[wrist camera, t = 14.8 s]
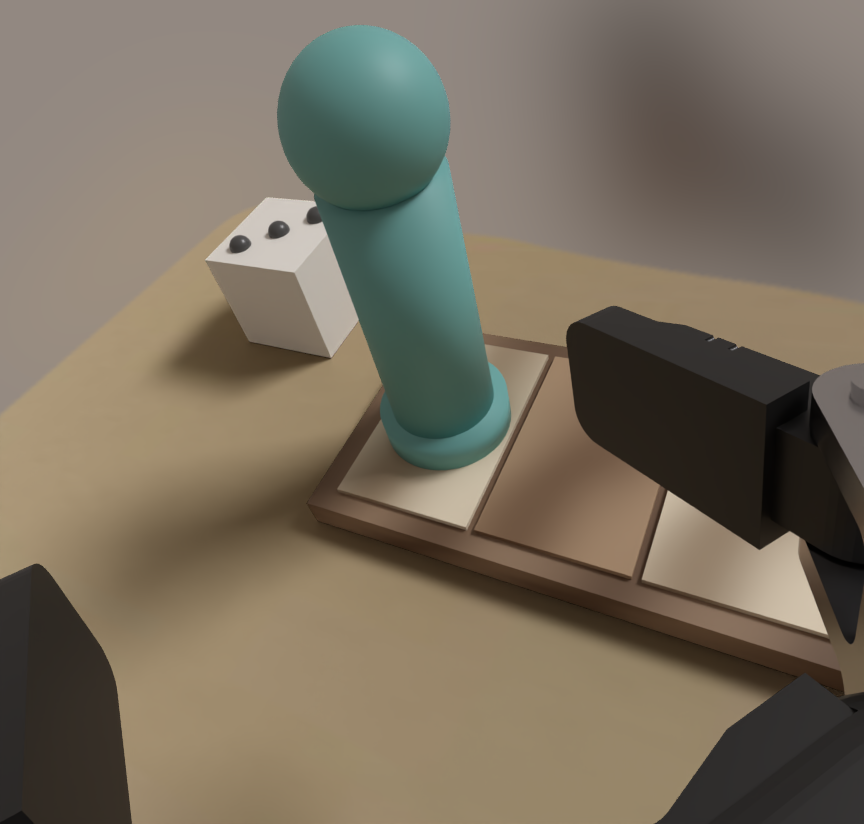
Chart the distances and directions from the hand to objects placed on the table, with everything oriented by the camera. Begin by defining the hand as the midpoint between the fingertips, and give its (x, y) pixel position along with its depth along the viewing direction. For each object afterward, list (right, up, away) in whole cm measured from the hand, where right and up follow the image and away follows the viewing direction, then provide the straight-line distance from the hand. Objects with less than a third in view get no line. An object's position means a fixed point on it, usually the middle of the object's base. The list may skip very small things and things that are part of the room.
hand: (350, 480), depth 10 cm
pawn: (+2, +1, +16) cm, 16 cm away
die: (-5, +6, +25) cm, 26 cm away
